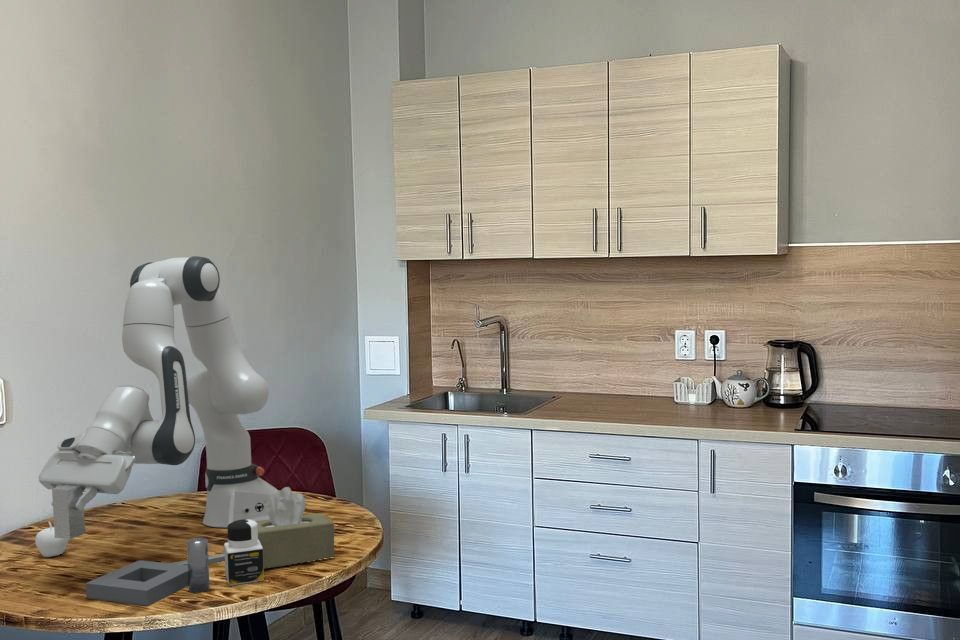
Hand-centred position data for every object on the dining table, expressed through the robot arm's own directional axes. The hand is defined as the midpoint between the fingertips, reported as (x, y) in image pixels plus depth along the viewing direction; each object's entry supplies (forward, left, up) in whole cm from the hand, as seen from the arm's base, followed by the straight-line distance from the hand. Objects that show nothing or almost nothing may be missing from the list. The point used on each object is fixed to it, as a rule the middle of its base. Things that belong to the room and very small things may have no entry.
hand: (66, 507), depth 183 cm
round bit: (-23, +14, -17) cm, 32 cm away
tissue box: (-44, +4, -17) cm, 47 cm away
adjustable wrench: (-28, -4, -17) cm, 34 cm away
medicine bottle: (-33, +12, -17) cm, 39 cm away
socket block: (-13, +8, -17) cm, 23 cm away
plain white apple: (+3, -28, -17) cm, 33 cm away
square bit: (0, 0, -6) cm, 6 cm away
